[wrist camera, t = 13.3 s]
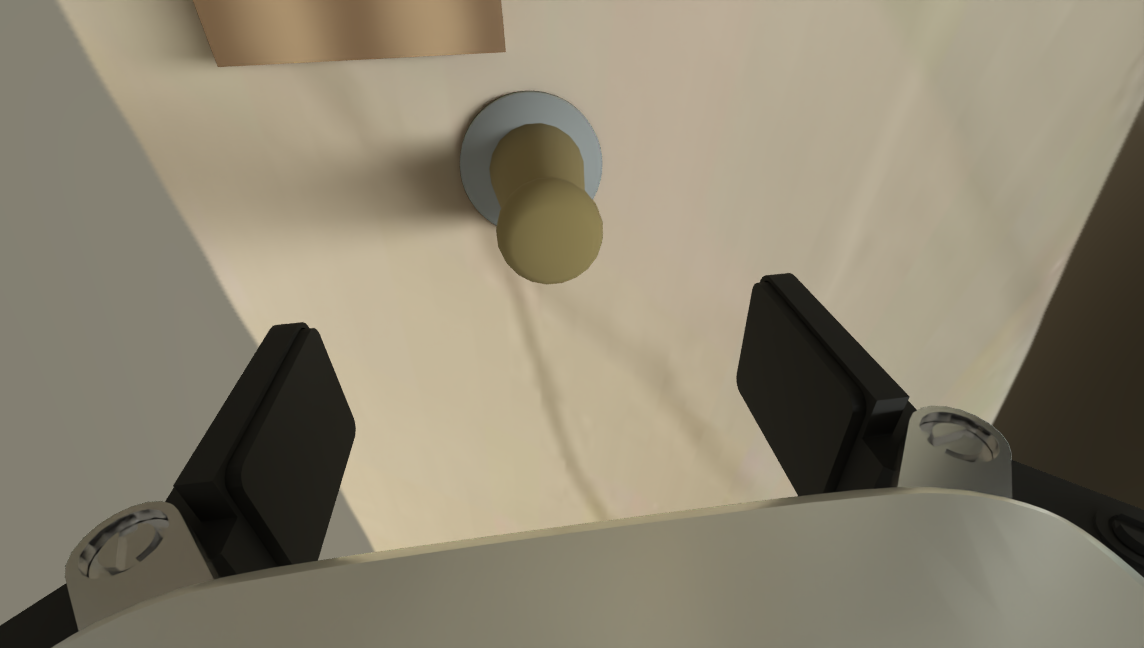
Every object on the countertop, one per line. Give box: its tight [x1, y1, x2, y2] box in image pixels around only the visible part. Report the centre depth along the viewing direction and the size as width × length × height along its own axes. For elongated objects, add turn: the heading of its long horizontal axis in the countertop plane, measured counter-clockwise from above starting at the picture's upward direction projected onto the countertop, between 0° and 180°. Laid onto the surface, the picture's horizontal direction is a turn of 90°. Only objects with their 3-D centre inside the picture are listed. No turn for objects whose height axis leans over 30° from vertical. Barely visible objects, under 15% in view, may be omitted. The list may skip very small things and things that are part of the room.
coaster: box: [460, 91, 602, 226], centre depth 33 cm, size 9×9×1 cm
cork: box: [489, 123, 603, 284], centre depth 28 cm, size 6×6×11 cm
